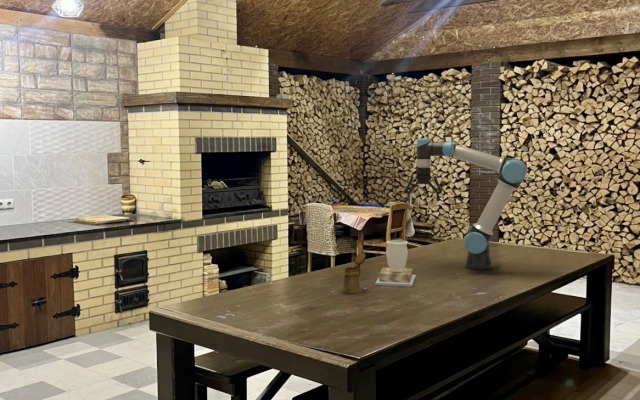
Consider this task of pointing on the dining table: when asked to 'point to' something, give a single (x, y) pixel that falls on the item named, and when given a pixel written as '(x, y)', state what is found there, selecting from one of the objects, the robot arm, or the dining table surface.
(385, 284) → the board
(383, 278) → the tan flat block
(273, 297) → the dining table surface
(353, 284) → the wooden mug
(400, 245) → the jar
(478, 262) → the robot arm
